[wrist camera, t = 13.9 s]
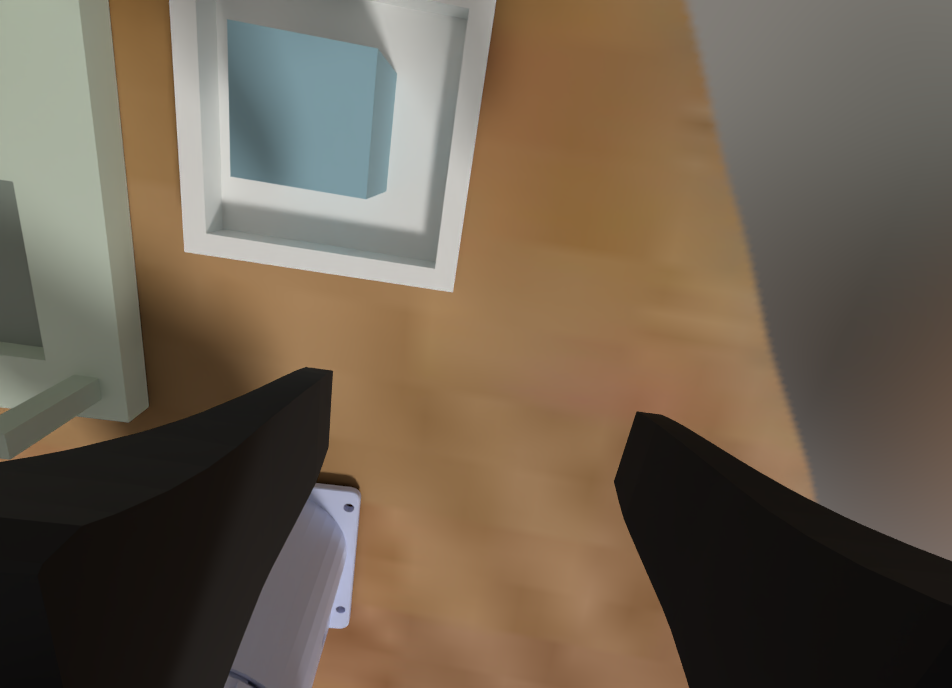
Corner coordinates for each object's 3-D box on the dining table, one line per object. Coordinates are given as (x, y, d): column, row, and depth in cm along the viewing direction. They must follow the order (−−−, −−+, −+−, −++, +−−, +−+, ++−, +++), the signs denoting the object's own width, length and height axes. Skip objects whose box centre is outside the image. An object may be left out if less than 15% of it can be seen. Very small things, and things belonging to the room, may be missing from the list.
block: (386, 191, 18) (365, 199, 14) (279, 173, 18) (230, 176, 14) (396, 73, 17) (377, 48, 13) (281, 51, 16) (226, 18, 12)
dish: (453, 281, 20) (452, 292, 18) (209, 243, 19) (184, 251, 17) (495, 1, 16) (498, -17, 15) (196, -59, 15) (164, -86, 14)
